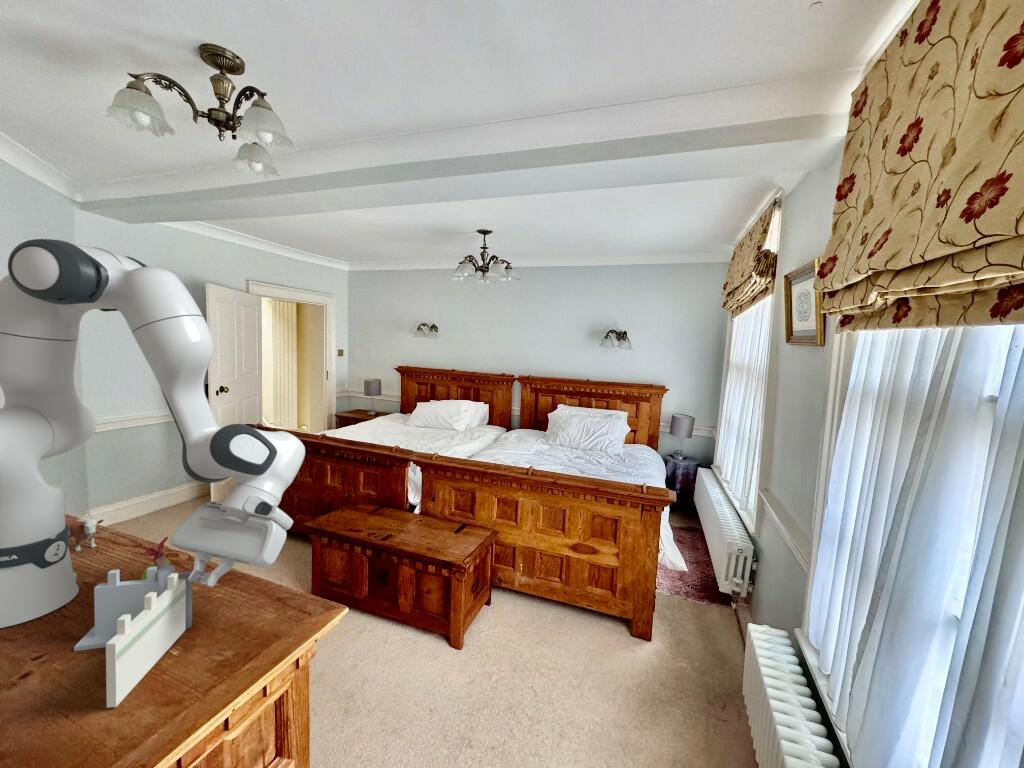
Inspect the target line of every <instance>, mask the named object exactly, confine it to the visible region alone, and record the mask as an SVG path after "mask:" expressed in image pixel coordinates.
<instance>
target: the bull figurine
mask: <svg viewBox="0 0 1024 768" xmlns="http://www.w3.org/2000/svg"><path fill="white" fill-rule="evenodd" d="M103 522H104V519H100V520H95V519H92V518H86V519H85V518H84V519H82V518H81V519H78V518H72V517H71V518H70V517H65V524H66V525H68V528H69V532H70V535H69V544H70V543H71V541H70V540H74V539H75V544H76V546H75V548H74V550H75V553H80V552H81V551H82V548H81V544H82V541H84V542H87V541H88V542H89V544H90V545H89V546H90V548H91V549H95V548H94V547H96V548H97V547H98V546H97V544H96V543H95V539H94V534H96V533H97V531H96V529H97V525H99V524H101V523H103ZM79 551H80V552H79Z"/></svg>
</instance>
